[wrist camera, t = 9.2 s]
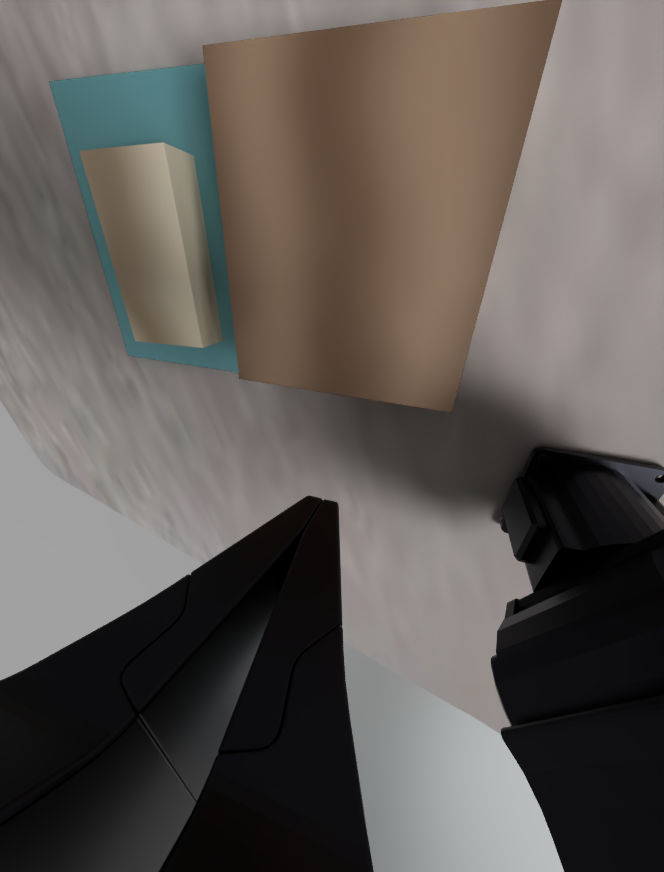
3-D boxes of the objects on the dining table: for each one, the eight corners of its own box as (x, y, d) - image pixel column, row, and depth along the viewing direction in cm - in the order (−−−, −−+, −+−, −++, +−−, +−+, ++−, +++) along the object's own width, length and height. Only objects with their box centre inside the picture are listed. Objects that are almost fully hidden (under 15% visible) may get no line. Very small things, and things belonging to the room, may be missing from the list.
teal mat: (247, 67, 13) (240, 59, 13) (266, 373, 20) (262, 376, 20) (61, 87, 16) (49, 81, 16) (135, 353, 23) (128, 355, 23)
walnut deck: (526, 77, 11) (562, -2, 8) (449, 384, 17) (451, 412, 14) (259, 98, 14) (202, 45, 11) (272, 359, 20) (239, 378, 17)
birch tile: (79, 150, 15) (115, 162, 16) (135, 341, 19) (159, 335, 21) (163, 142, 14) (193, 155, 15) (202, 347, 18) (222, 340, 20)
